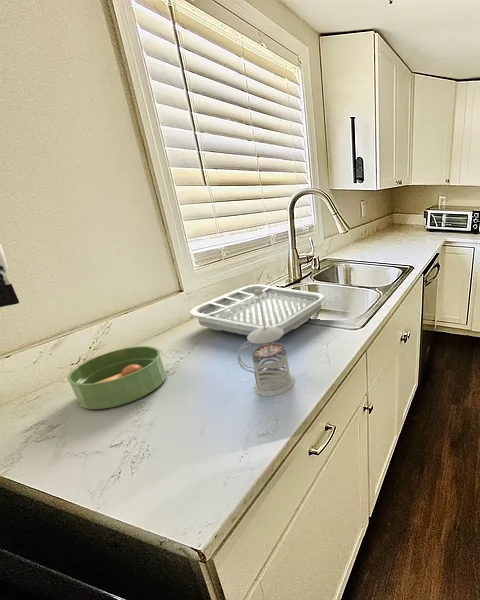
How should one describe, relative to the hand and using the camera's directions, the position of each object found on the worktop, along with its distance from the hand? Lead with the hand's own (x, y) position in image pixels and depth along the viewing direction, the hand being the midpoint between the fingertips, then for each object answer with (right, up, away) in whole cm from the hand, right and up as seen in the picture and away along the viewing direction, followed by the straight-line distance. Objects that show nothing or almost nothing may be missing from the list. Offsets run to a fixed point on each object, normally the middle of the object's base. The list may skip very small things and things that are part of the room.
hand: (4, 300), depth 66 cm
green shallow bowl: (+12, -22, +15) cm, 29 cm away
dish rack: (+32, -8, +50) cm, 60 cm away
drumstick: (+11, -22, +14) cm, 28 cm away
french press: (+48, -21, +15) cm, 54 cm away
